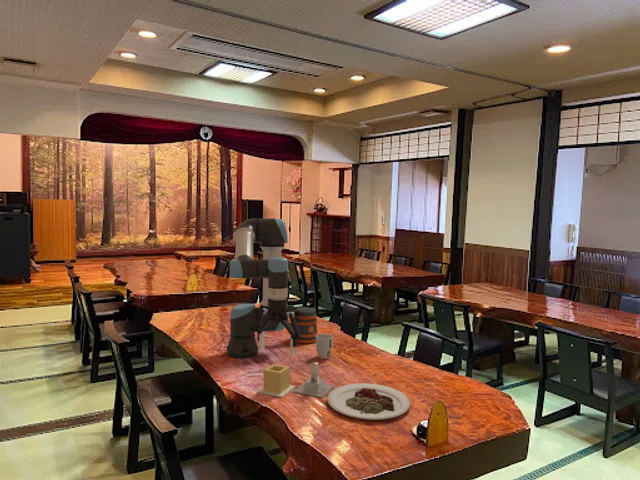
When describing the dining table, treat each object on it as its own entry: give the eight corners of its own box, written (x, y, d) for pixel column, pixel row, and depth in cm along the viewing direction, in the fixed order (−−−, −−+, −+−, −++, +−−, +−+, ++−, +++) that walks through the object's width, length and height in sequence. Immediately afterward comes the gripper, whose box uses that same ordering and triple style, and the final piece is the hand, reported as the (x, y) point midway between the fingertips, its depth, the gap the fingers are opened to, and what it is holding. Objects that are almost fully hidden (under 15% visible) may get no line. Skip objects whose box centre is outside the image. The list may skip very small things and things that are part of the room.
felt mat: (257, 392, 180) (257, 391, 180) (271, 382, 190) (271, 381, 190) (282, 397, 176) (282, 396, 176) (295, 387, 186) (295, 386, 186)
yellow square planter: (263, 390, 181) (263, 369, 181) (273, 383, 188) (273, 364, 187) (280, 393, 178) (280, 373, 178) (289, 386, 185) (289, 367, 184)
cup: (330, 360, 218) (331, 339, 217) (313, 359, 220) (314, 338, 219) (333, 355, 226) (334, 334, 225) (317, 353, 228) (317, 333, 227)
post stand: (293, 392, 181) (294, 365, 180) (307, 381, 192) (307, 356, 191) (322, 398, 176) (322, 370, 176) (334, 386, 187) (335, 360, 187)
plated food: (351, 430, 153) (352, 420, 152) (314, 395, 180) (314, 386, 179) (427, 414, 165) (427, 405, 165) (381, 383, 192) (381, 375, 192)
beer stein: (294, 347, 236) (294, 308, 234) (278, 340, 248) (278, 303, 246) (323, 341, 248) (324, 303, 246) (307, 334, 259) (307, 298, 258)
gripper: (244, 296, 182) (244, 349, 184) (302, 303, 172) (301, 360, 174) (254, 292, 189) (254, 344, 191) (311, 299, 179) (310, 354, 181)
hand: (277, 352), depth 182 cm, fingers open, 13 cm apart
